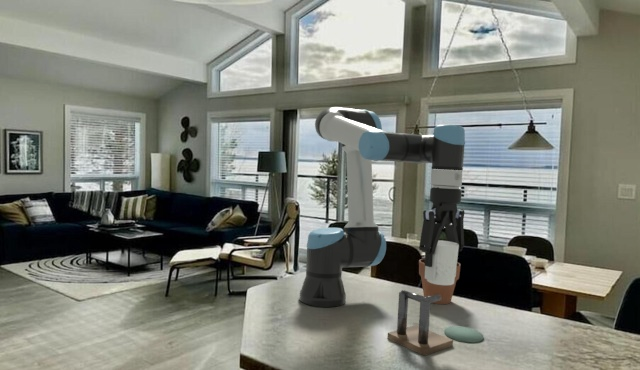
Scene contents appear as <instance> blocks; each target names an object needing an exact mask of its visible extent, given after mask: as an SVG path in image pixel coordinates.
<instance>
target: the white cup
mask: <svg viewBox="0 0 640 370" xmlns="http://www.w3.org/2000/svg"><path fill="white" fill-rule="evenodd" d="M458 249H459V244H458V243H455V242H450V241H442V240H438V243H437V246H436V250H435V253H434V254H437V261H436V277H435V281H432V280H429V279H427V281H428V282H430V283H432V284H437V285H453V284H454V280H455V273H456V266H457V262H458V259H459V257H458V256H459V251H458Z"/></svg>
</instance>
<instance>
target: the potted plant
mask: <svg viewBox="0 0 640 370" xmlns="http://www.w3.org/2000/svg"><path fill="white" fill-rule="evenodd" d="M439 240H442V241H448V240H447V235H446V230H445V227H444V228H443V229H442V231H441V234H440V237H439ZM460 272H461V263H460V262H458V261H457V266H456V277H455V280H454V284H453V285H437V284H432V283H430V282H428V281H427V279H425V257H424V258H421V259H419V260H418V275H419V276H420V278H421V284H422V285H421V286H422V294H423V296H424V297H428V296H432V295H437V294H439V295H441V300H440V301H436V302H432V303H431V304H436V305H448V304H450V303H451V302H452V298H453V295H454V291H455V288H456V283H457V281H458V280H459V279H460V274H461V273H460Z"/></svg>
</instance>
